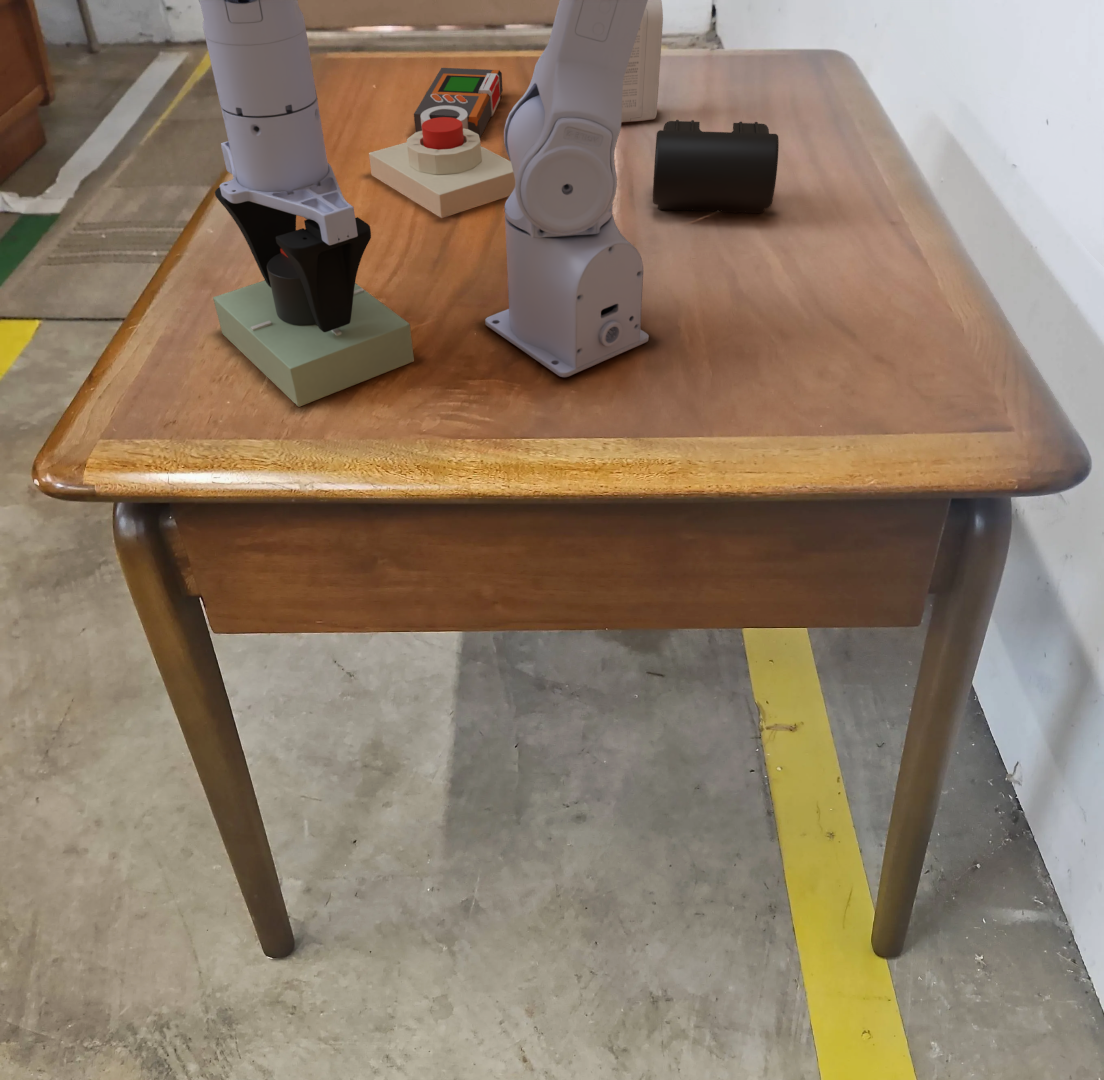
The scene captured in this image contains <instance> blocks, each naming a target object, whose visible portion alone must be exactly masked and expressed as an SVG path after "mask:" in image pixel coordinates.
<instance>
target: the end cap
mask: <svg viewBox="0 0 1104 1080" xmlns="http://www.w3.org/2000/svg"><path fill="white" fill-rule="evenodd" d="M700 126H701V125H700V121H695V120H694V119H691V121H688V120H679V119H676V120H668V121H666V122H665V123H664V125H663V128H662V129H659V130H658V131H657V132H656V139H655V151H654V166H653V167H654V168H653V183H652V187H653V188H652V203H653V204H654V205H655V206H657V209H658V210H663V211H665V210H666V211H667V210H669V211H693V212H695V211H697V212H718V213H719V212H720V213H721V212H724V213H743V214H746V213H747V214H763V213H764V212H765V209H766V210H768V209H769V208H771V206H772V203H773V201H774V196H775V195H774V194H775V190H776V183H777V175H778V165H779V149H780V148H779V146H780V145H779V143H780V141H779V135H778V134H777V133H770V130H769V127H768V125H767V124H765V123H758V121H755V122H754V123H753V122H743V121H739V122H733V124H732V131H731V132H728V131H724V132H723V131H702V130H701V129H700V128H701V127H700Z"/></svg>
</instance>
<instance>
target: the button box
mask: <svg viewBox="0 0 1104 1080" xmlns="http://www.w3.org/2000/svg"><path fill="white" fill-rule="evenodd" d="M463 138H464V144H463V145H462V146H459V147H455V148H452V149H441V150H437V149H430V148H426V147H425V146H424V144H423V134H422V131H419V132H416V131H415V132H414V133H413V134H411V135H410V136H409V137H408V138H406V141H405V142H402V143H400V144H396V145H392V146H388V147H384V148H381V149H377V150H374V151H370V152H368V158H369V166H370V174H371V176H372V177H374V178H375V179H377V180H378V181H380V182H382V183H384V184H385V185H387V186H388V187H390V188H392V189H393V190H395V191H396V192H398V193H400V194H402V195H403V196H404V197H406V198H408V199H409V200H411V201H412V202H414V203H416V204H418V205H419V206H421V207H423V208H424V209H426V210H428V212H430V213H432V214H434V215H435V216H437V217H439V218H441V219H444V218H447V217H449V216H452V215H455V214H459V213H462V212H465V211H468V210H471V209H474V208H477V207H480V206H483V205H487V204H490V203H492V202H495V201H499V200H502V199H505V198H509V196H510V195H511V193H512V192H513V190H514V188H515V177H514V173H513V168H512V164H511V161H510V159H507V158H505V157H503V156H501V155H499V154H497V153H495V152H493V151H492V150H491V149H488V148H486V147H484V146H482V145H481V144H482V143H481V137H480V138H479V134H477V133H475V132H473V131H471V130H469V129H463Z"/></svg>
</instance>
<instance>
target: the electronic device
mask: <svg viewBox="0 0 1104 1080" xmlns="http://www.w3.org/2000/svg"><path fill="white" fill-rule="evenodd" d="M503 90H504V89H503V73H502V72H501V70H500V69H485V68H484V69H481V68H461V67H460V68H457V67H441V68H440V70H439V71H438V73H437V74H436V76H435V78H434V79H433V81H432V83H431V85H430V87H429V88H428V89H427V91H426V92H425V95H424V96H423V98H422V99H421V101H420V102H419V105H418V106H417V107H416V110H415V111H414V113H413V120H414V129H415V133H416V132H419V131H422V124H423V123H424V122H425V121H427V120H429V119H433V118H438V117H450V118H455V119H458V120H460V121H461V122H462V124H463V129H469V130H471V131H473V132H475V133H477V134H479V138H480V139H481V137H482V135H483V133H484V132H485V130H486V128H487V125H488V123H489V122H490V119H491V118H492V117H493V116H494V114H495V112H496V110H497V107H498V106H499V103H500V101H501V95H502V94H503Z"/></svg>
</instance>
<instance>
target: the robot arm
mask: <svg viewBox="0 0 1104 1080" xmlns="http://www.w3.org/2000/svg"><path fill="white" fill-rule="evenodd" d="M647 1H648V0H558V5H557V9H556V12H555V17H554V20H553V24H552V28H551V32H550V36H549V39H548V43H547V45H546V46H545V48H544V50H543V51H542V53H541V55H540V56H539V58H538V59H537V61H536V63H535V65H534V69H533V72H532V73H533V74H532V77H531V79H530V83H529V85H528V87H527V89H526V91H525V93H523V95H522V96H521V97H520V98H519V100H517V102H516V103H515V104H514V105H513V107H512V108H511V110H510V112H509V113H508V116H507V118H506V120H505V124H504V129H503V141H504V142H503V143H504V148H505V152H506V154H507V156H508V157H507V158H508V160H509V161H511V164H512V168H513V173H514V177H515V188H514V190H513V192H512V193H511V195H510V196H508V197H507V199H506V201H505V203H504V227H505V228H504V229H505V251H506V268H507V269H506V271H507V272H506V273H507V274H506V275H507V295H508V296H507V298H508V308H507V309H505V310H502V311H499V312H497V313H494V314H492V315H490V316H487V317H486V318H484V319H485V320H484V321H485V326H486V327H488V328H489V329H491V330H492V331H494V332H495V333H497V334H498V335H500V336H501V337H502V338H503V339H505V340H507V341H508V342H509V343H511V344H512V345H514V346H515V347H517V348H518V349H520V350H521V351H522V352H524V353H525V354H527V355H528V356H529V357H531V358H532V359H534V360H535V361H536V362H538V363H540V364H541V365H542V366H544V367H545V368H547V369H548V370H549V371H551V372H552V373H554V374H555V375H557V376H558V377H561V378H568V377H571V376H574V375H575V374H578V373H580V372H582V371H584V370H587V369H589V368H591V367H593V366H595V365H598V364H600V363H602V362H604V361H607V360H609V359H612V358H614V357H616V356H618V355H620V354H623V353H625V352H627V351H630V350H632V349H634V348H637V347H639V346H641V345H643V344H646V343H647V342H649V337H650V336H649V333H647V332H646V331H644V330H642V329H641V328H642V327H641V323H642V304H643V303H642V302H643V287H644V261H643V259H642V256H641V254H640V252H639V250H638V249H637V247H635V245H634V244H632V243H631V242H630V241H629V240H628V239H626V237H624V235H623V234H622V233H621V231H620V229H619V228H618V226H617V224H616V220H615V218H614V214H613V206H614V205H613V204H614V200H615V197H616V194H617V187H618V176H617V171H616V164H615V153H616V151H615V150H616V147H617V142H618V140H619V137H620V133H621V129H622V122H621V119H622V92H623V78H624V75H625V72H626V68H627V65H628V62H629V59H630V56H631V52H632V49H633V46H634V43H635V40H636V36H637V33H638V30H639V27H640V24H641V20H642V17H643V14H644V11H645V8H646V4H647ZM198 3H199V6H200V9H201V13H202V18H203V21H202V29H203V34H204V38H205V43H206V48H207V51H208V56H209V61H210V66H211V69H212V75H213V79H214V83H215V88H216V92H217V95H218V96H217V97H218V101H219V104H220V105H219V106H220V109H221V113H222V118H223V123H224V127H225V131H226V137H227V140H228V141H224V142H221V143H220V147H221V151H222V156H223V160H224V165H225V168H226V169H225V170H226V171H227V172H228V173H229V174H231V175H232V179H230V180H227V181H224V182H222V183H220V184H219V187H218V188H216V189H215V191H214V195H215V197H216V199H217V200H218V201H219V203H221V205H222V206H223V208H225V210H226V211H227V212H228V214H229V215H230V216H231V218H232V219H233V221H234V222H235V224H236V225H237V227H238V229H239V231H240V233H241V234H242V236H243V238H244V239H245V242H246V243H247V246H248V247H249V250H250V251H251V254H252V256H253V258H254V261H255V262H256V265H257V267H258V269H259V271H260V274H261V276H262V278H263V279H264V280H265V281H266V283H267V284H268V286H269V287H271V285H270V280H269V275H268V271H267V264H268V262H269V261H270V259H271V258H273V257H274V256H276V255H278V254H280V253H281V251H280V249H282V250H283V251H284V253H285V254H286V255H287V256H288V258H289V260H290V261H291V263H292V264H293V266H294V268H295V270H296V272H297V274H298V275H299V278H300V280H301V282H302V285H303V287H304V290H305V293H306V296H307V299H308V303H309V306H310V309H311V312H312V315H313V317H314V319H315V322H316V323H317V325H318V327H319V329H321V330H322V331H323V332H328V331H331V330H333V329H336V328H339V327H342V326H344V325H347V324H349V323H350V320H351V314H352V305H353V295H354V287H355V283H356V279H357V275H358V271H359V266H360V263H361V260H362V258H363V256H364V253H365V251H366V249H367V246H368V244H369V243H370V241H371V239H372V230H371V226H370V224H368V223H367V222H366V221H364V220H362V218H360V217H358V216H357V217H356V214H355V208H354V206H353V205H352V204H351V203H349V202H348V201H347V200H346V199H345V196H344V195H343V192H342V190H341V187H340V184H339V183H338V180H337V177H336V175H335V172H334V169H333V167H332V165H331V164H330V163H329V162H328V156H327V149H326V144H325V143H326V142H325V137H324V132H323V125H322V119H321V112H320V107H319V101H318V100H319V99H318V95H317V89H316V83H315V76H314V70H313V64H312V58H311V51H310V47H309V39H308V33H307V27H306V21H305V16H304V13H303V12H302V10H301V8H300V5H299V0H198ZM297 216H298V217H302V218H304V219H305V220H304V221H303V222H304V228H299V229H297Z"/></svg>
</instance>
